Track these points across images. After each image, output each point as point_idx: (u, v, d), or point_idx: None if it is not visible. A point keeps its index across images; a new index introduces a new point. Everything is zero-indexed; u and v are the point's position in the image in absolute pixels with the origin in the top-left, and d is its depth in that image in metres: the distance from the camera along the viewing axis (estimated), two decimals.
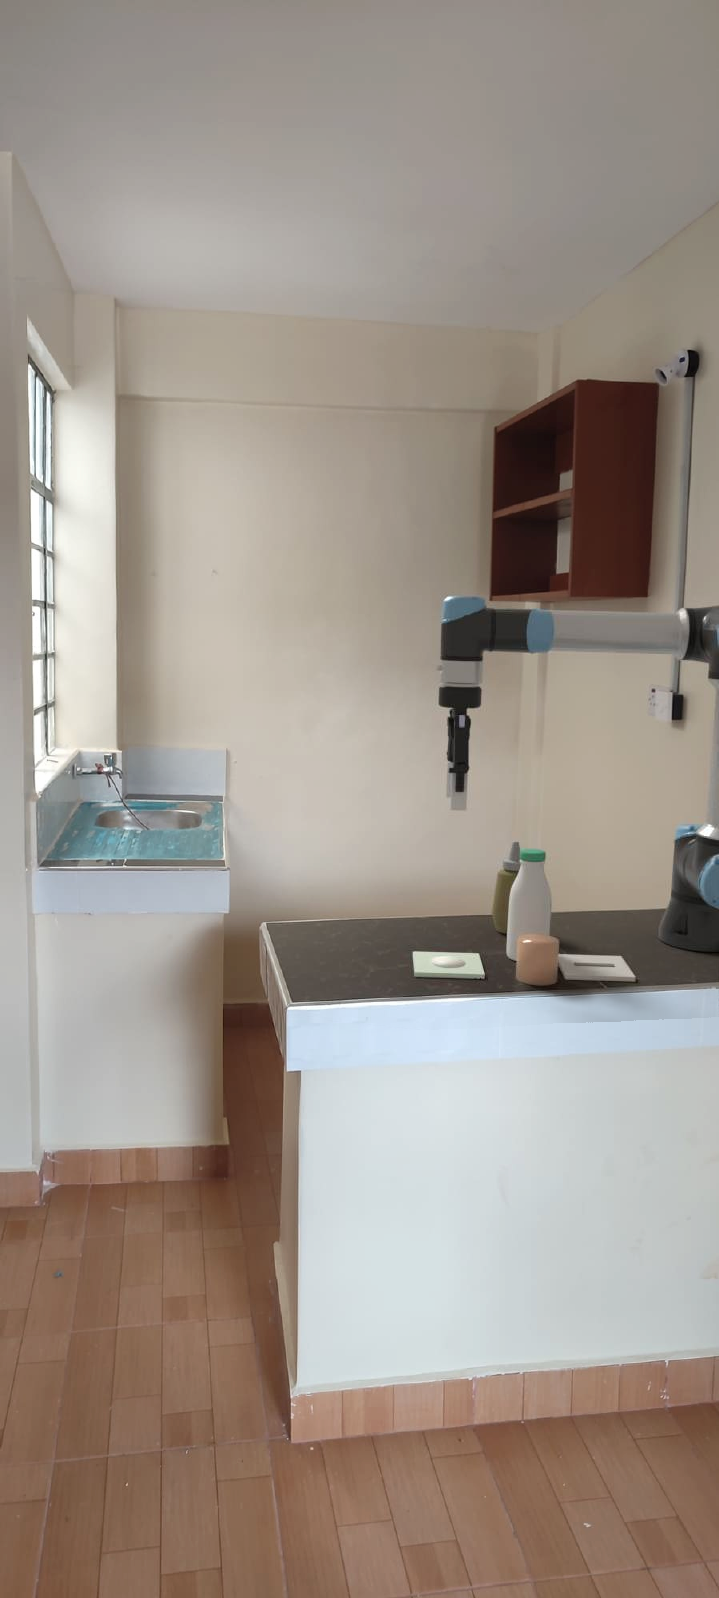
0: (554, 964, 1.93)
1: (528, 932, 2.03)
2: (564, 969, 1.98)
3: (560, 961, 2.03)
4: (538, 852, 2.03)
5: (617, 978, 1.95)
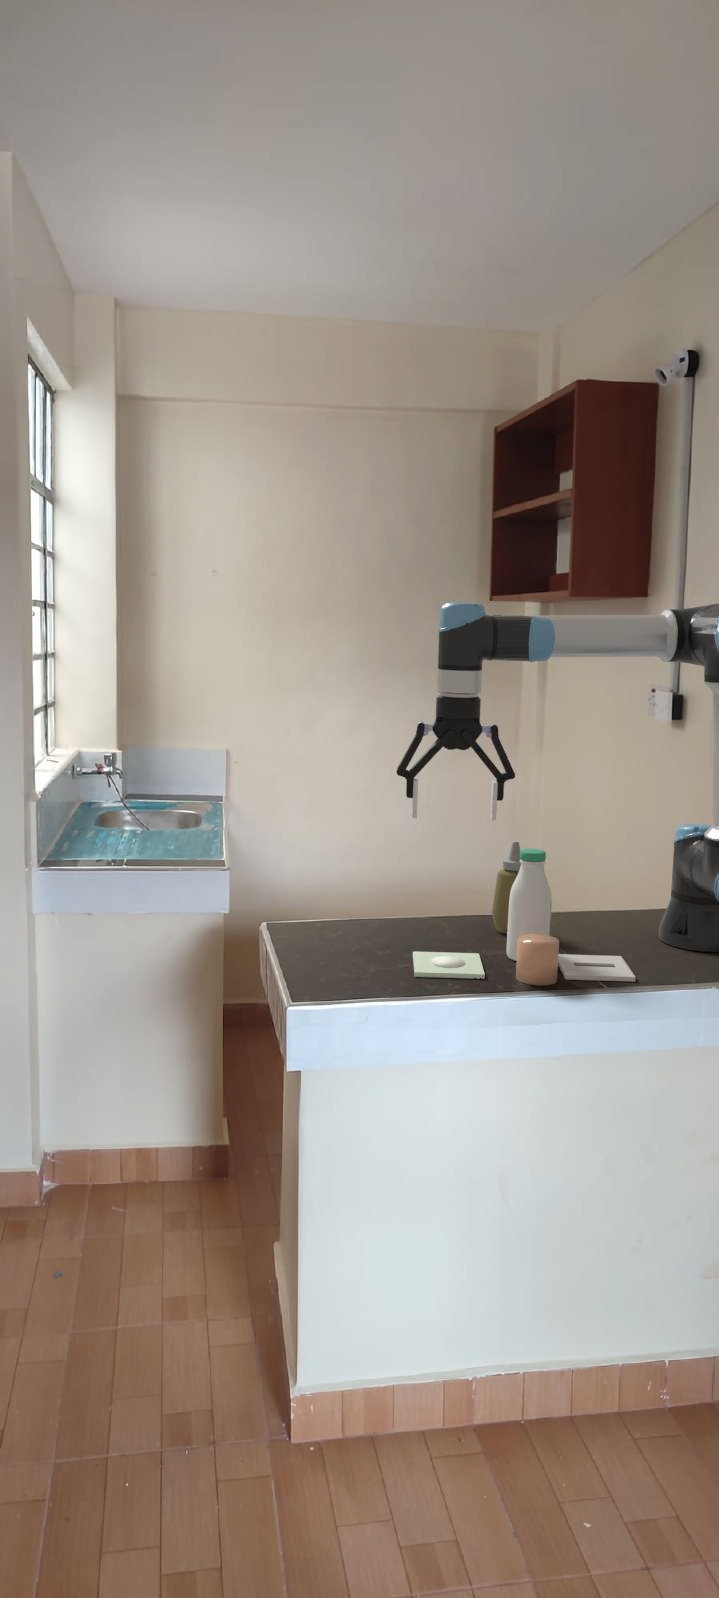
0: (554, 964, 1.93)
1: (528, 932, 2.03)
2: (564, 969, 1.98)
3: (560, 961, 2.03)
4: (538, 852, 2.03)
5: (617, 978, 1.95)
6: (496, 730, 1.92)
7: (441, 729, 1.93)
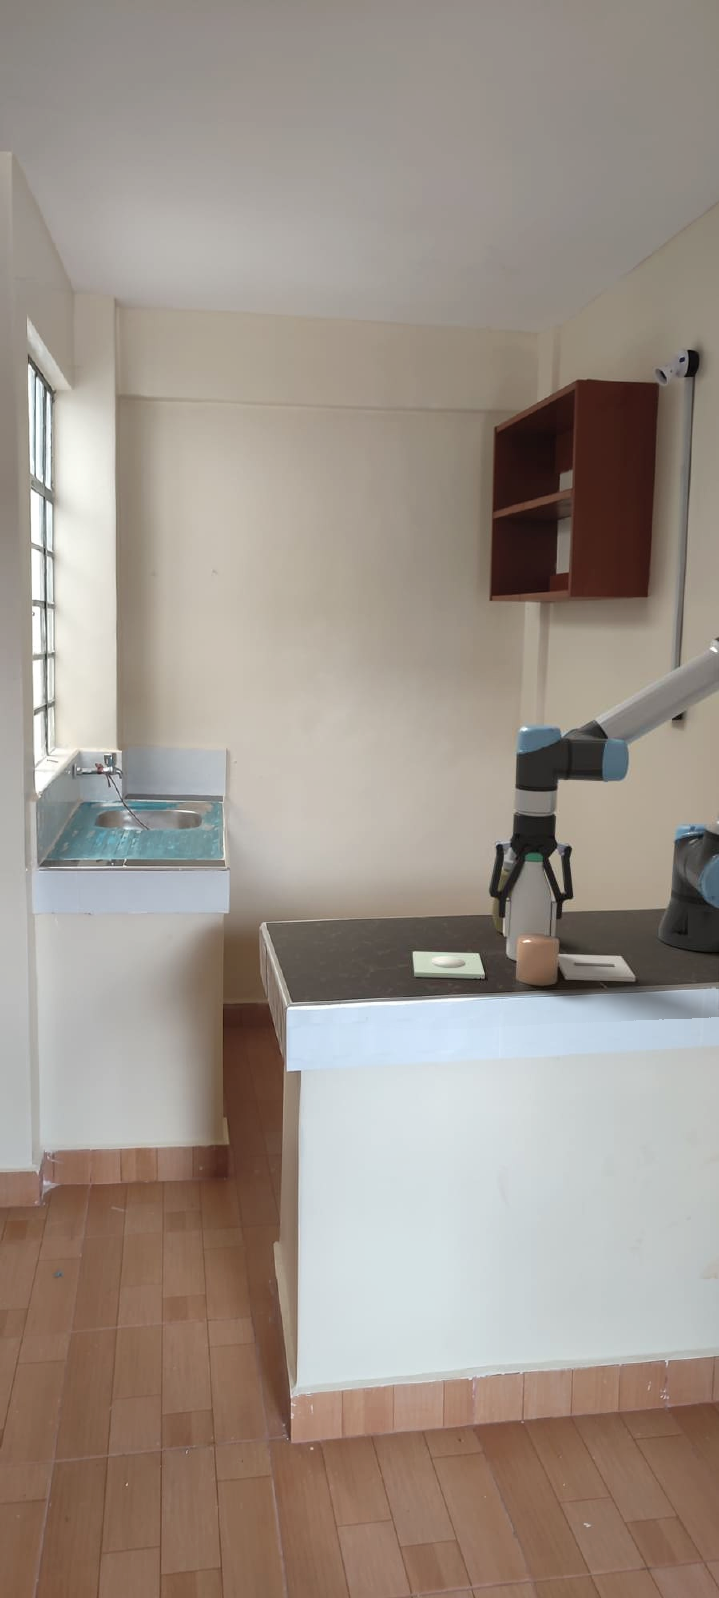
0: (554, 964, 1.93)
1: (528, 932, 2.03)
2: (564, 969, 1.98)
3: (560, 961, 2.03)
4: (538, 852, 2.03)
5: (617, 978, 1.95)
6: (569, 851, 2.03)
7: (518, 844, 2.03)
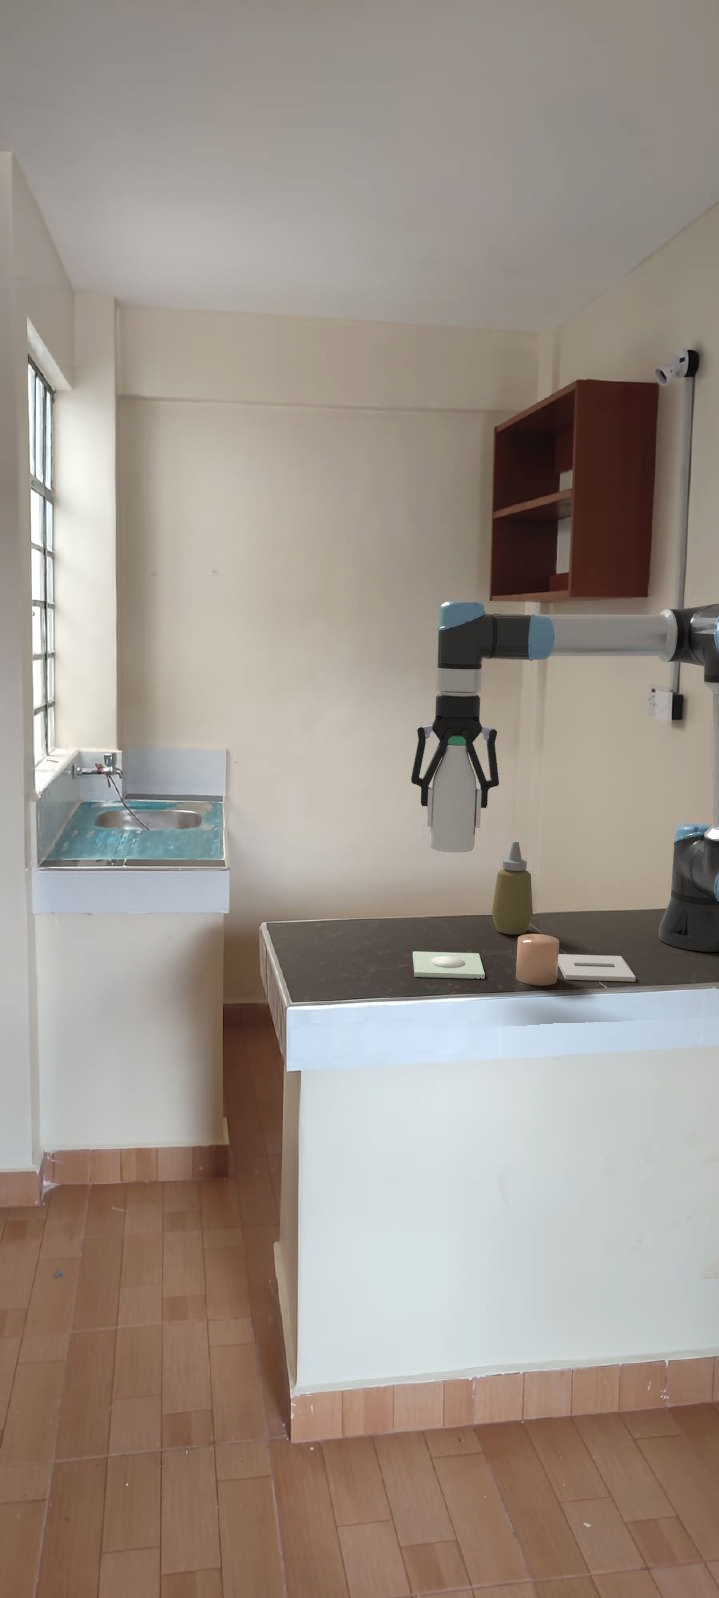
0: (554, 964, 1.93)
1: (451, 819, 1.92)
2: (564, 969, 1.98)
3: (560, 961, 2.03)
4: (461, 735, 1.92)
5: (617, 978, 1.95)
6: (494, 735, 1.92)
7: (441, 727, 1.93)
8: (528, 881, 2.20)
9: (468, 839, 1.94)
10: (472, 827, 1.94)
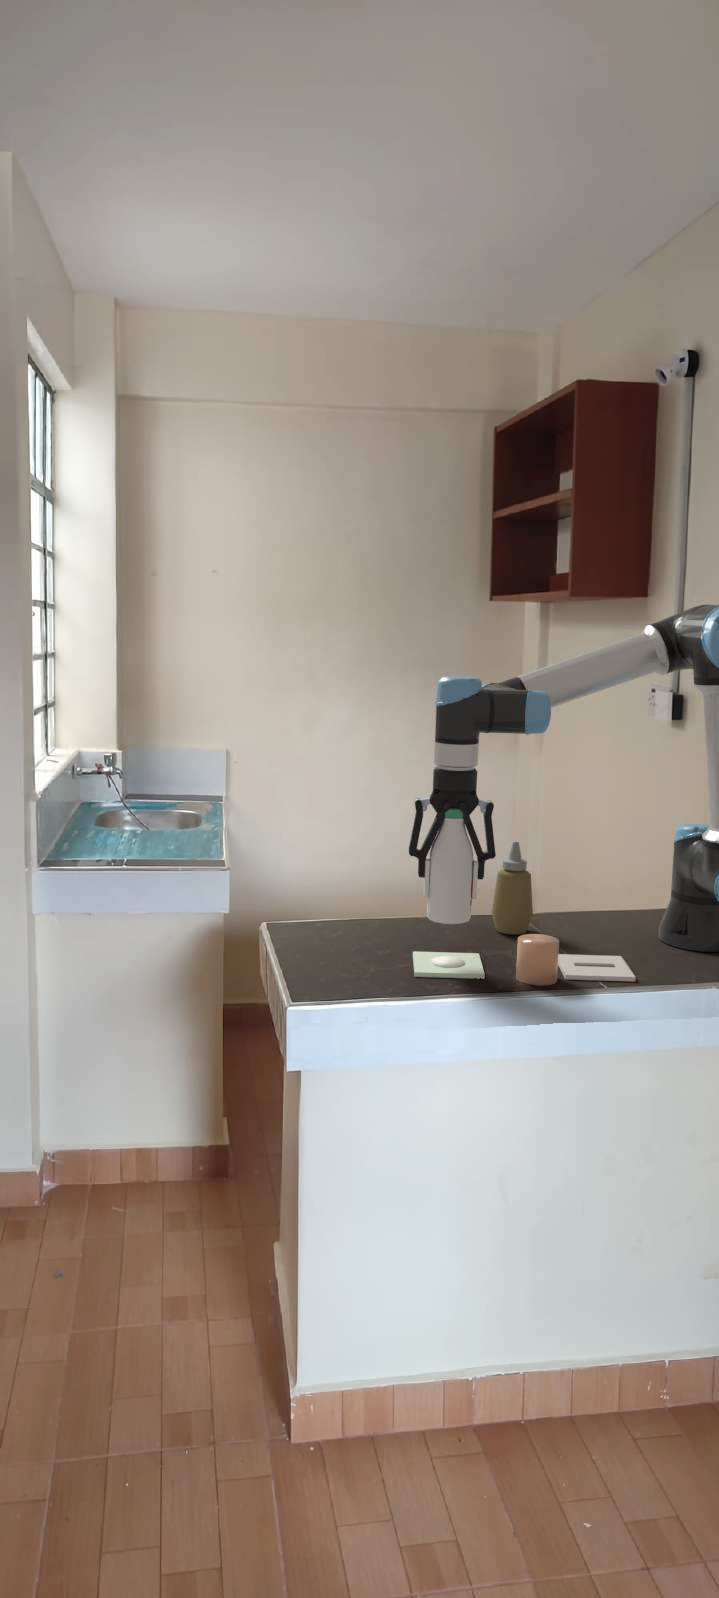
0: (554, 964, 1.93)
1: (447, 892, 1.94)
2: (564, 969, 1.98)
3: (560, 961, 2.03)
4: (458, 808, 1.95)
5: (617, 978, 1.95)
6: (491, 808, 1.95)
7: (438, 800, 1.95)
8: (528, 881, 2.20)
9: (465, 910, 1.96)
10: (469, 898, 1.96)
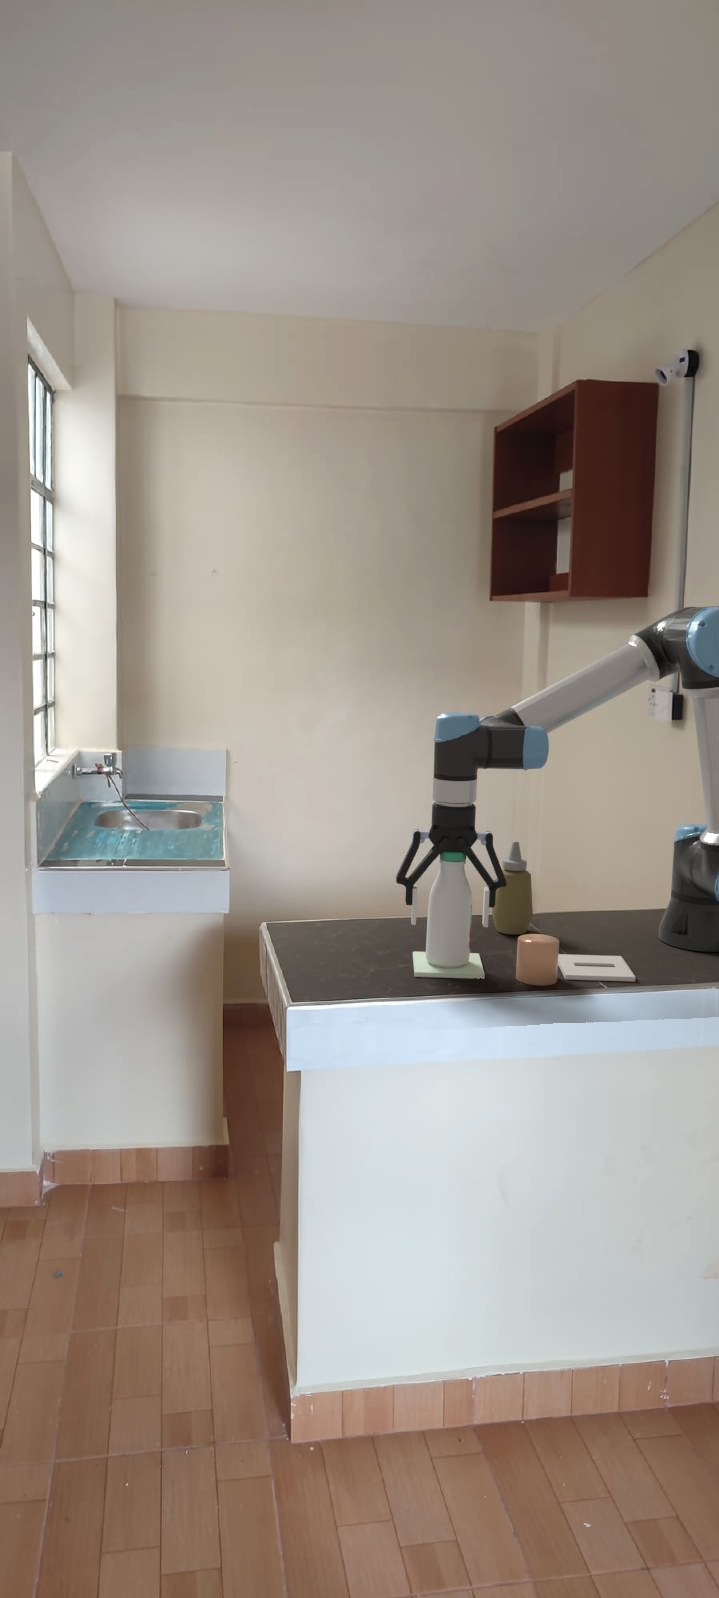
0: (554, 964, 1.93)
1: (446, 934, 1.96)
2: (564, 969, 1.98)
3: (560, 961, 2.03)
4: (458, 852, 1.96)
5: (617, 978, 1.95)
6: (491, 839, 1.95)
7: (437, 836, 1.96)
8: (528, 881, 2.20)
9: (463, 953, 1.97)
10: (467, 941, 1.98)
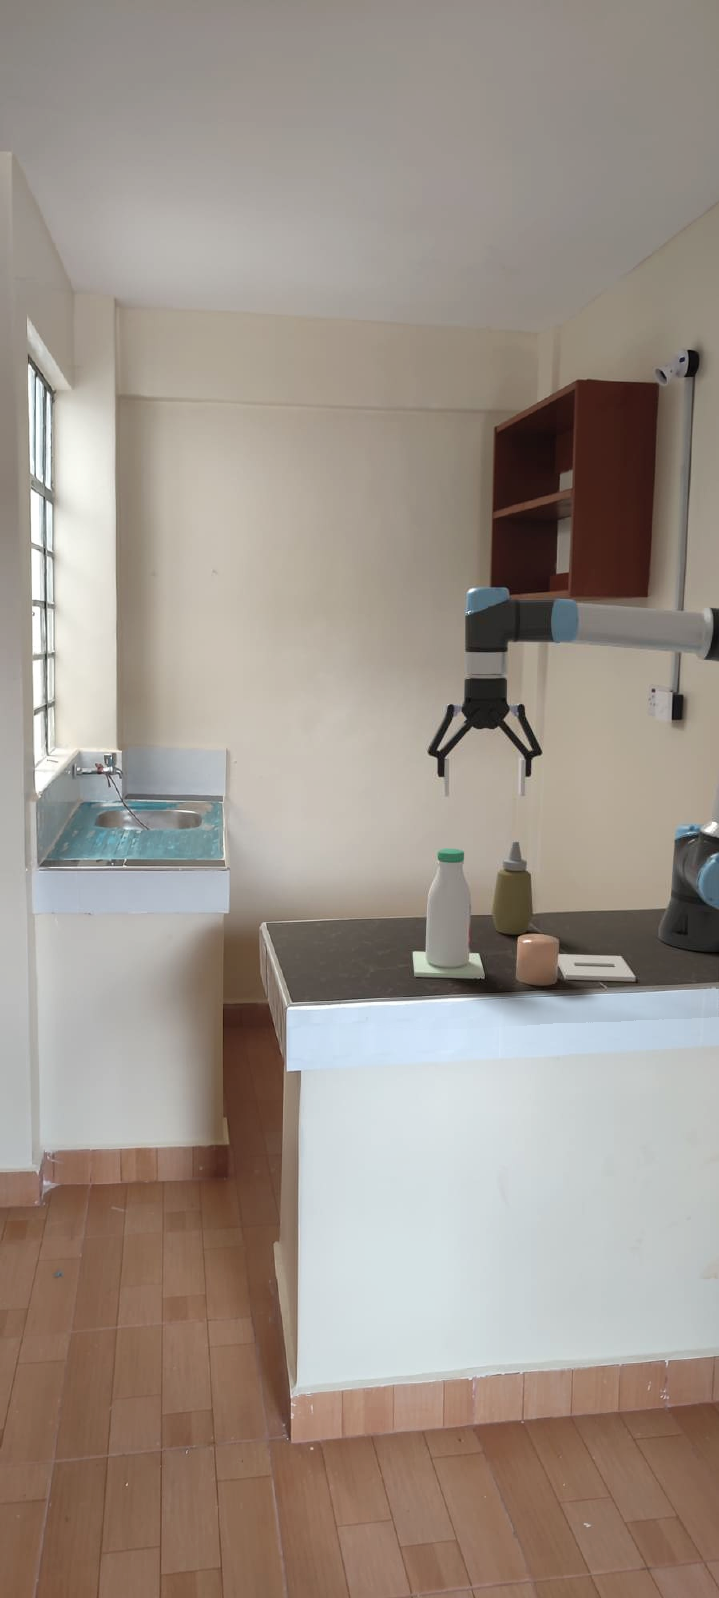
0: (554, 964, 1.93)
1: (446, 935, 1.96)
2: (564, 969, 1.98)
3: (560, 961, 2.03)
4: (456, 852, 1.96)
5: (617, 978, 1.95)
6: (523, 709, 2.00)
7: (470, 709, 2.00)
8: (528, 881, 2.20)
9: (463, 953, 1.97)
10: (467, 941, 1.98)
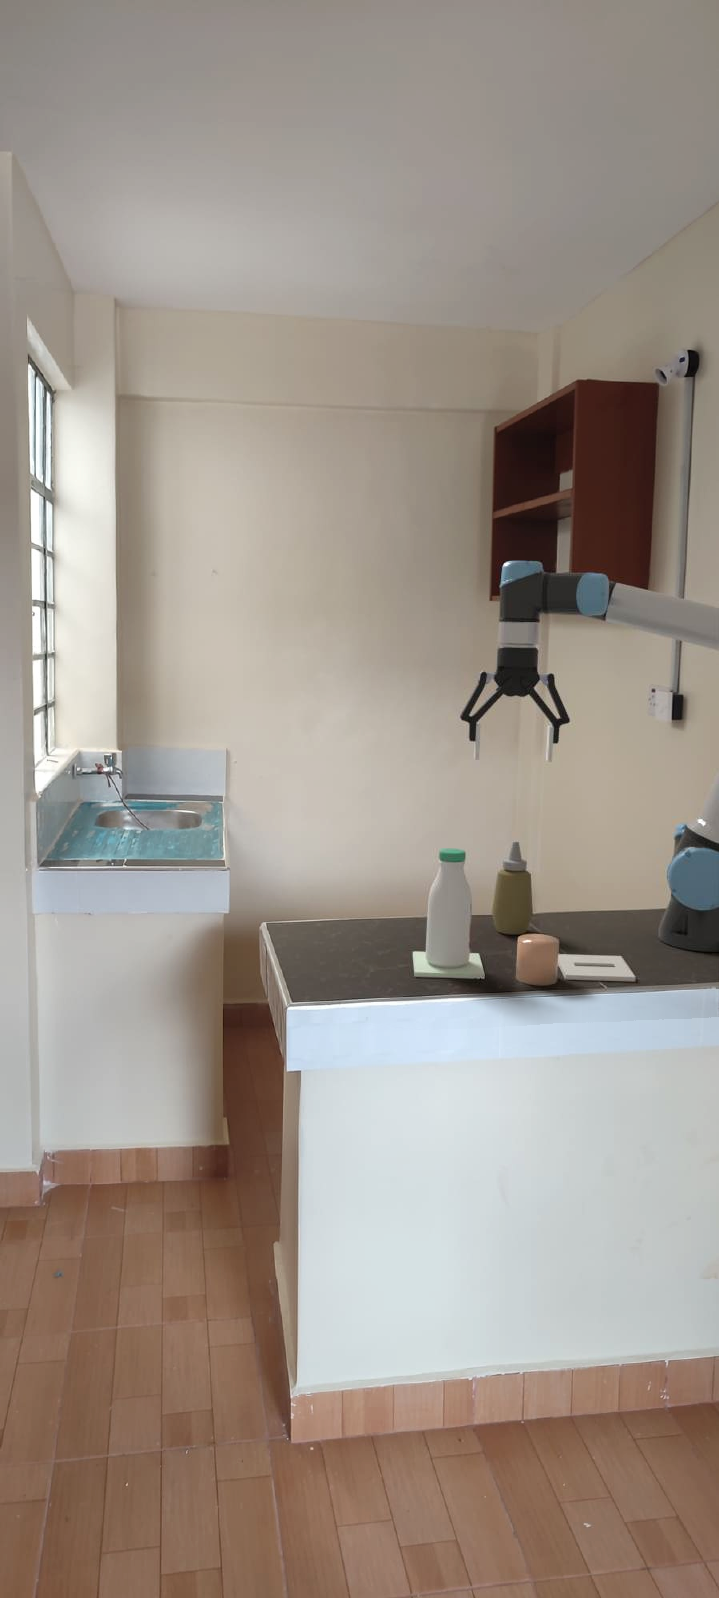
0: (554, 964, 1.93)
1: (446, 935, 1.96)
2: (564, 969, 1.98)
3: (560, 961, 2.03)
4: (457, 852, 1.96)
5: (617, 978, 1.95)
6: (552, 678, 2.10)
7: (502, 677, 2.10)
8: (528, 881, 2.20)
9: (463, 953, 1.97)
10: (467, 941, 1.98)
